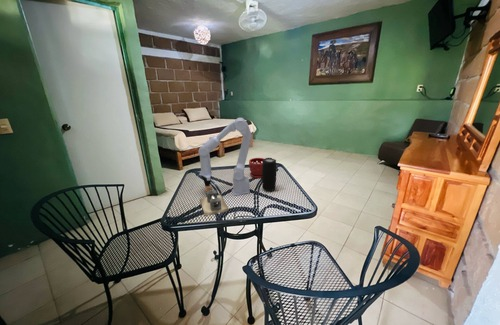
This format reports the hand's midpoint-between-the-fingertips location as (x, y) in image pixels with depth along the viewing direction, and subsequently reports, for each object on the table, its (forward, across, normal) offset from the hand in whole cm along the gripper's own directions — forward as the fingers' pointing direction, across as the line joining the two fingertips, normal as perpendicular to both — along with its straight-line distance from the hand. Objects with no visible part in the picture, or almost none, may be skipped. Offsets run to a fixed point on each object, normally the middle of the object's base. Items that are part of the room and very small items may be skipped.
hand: (207, 187), depth 121 cm
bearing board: (+4, +16, 0) cm, 16 cm away
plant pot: (+4, -13, +39) cm, 41 cm away
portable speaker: (+4, +10, +36) cm, 38 cm away
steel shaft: (+1, +12, 0) cm, 12 cm away
